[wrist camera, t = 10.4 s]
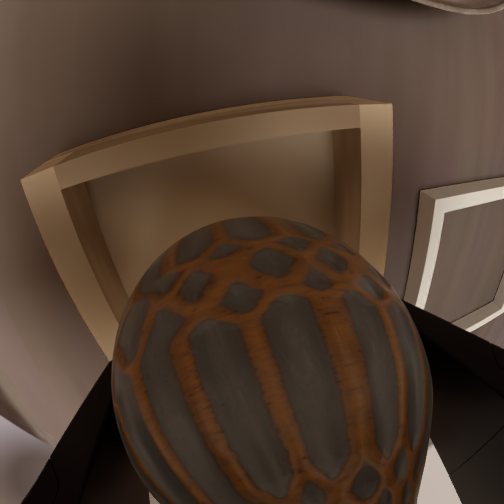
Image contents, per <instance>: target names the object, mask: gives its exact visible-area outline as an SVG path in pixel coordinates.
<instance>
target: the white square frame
mask: <svg viewBox="0 0 504 504" xmlns="http://www.w3.org/2000/svg"><path fill="white" fill-rule="evenodd" d="M503 198H504V177H500V178H493V179H487V180H480V181H474V182H468V183H462V184H456V185H450V186H444V187H438V188H432V189H426V190H421V191H420V198H419V208H418V217H417V225H416V232H415V239H414V246H413V252H412V258H411V264H410V270H409V275H408V280H407V286H406V290H405V295H404V301H406V302H408V303H411V304H413V305H415V306H417V307H419V308H421V309H423V310H424V306H425V303H426V299H427V295H428V292H429V288H430V284H431V280H432V275H433V271H434V267H435V262H436V257H437V253H438V248H439V242H440V237H441V232H442V226H443V220H444V213H445V212H449V211H453V210H458V209H462V208H466V207H470V206H474V205H478V204H483V203H487V202H491V201H495V200H499V199H503ZM503 312H504V274H503V276H502V279H501V282H500V285H499V287H498V290H497V293H496V295H495V298H494V300H493V301H492V302H490V303H489V304H487V305H485V306H483V307H481V308H479V309H478V310H476V311H474V312H472V313H470V314H468V315H466V316H464V317H462V318H460V319H458V320H456V321H454V322H452V324H454V325H456V326H458V327H460V328H462V329H464V330H466V331H468V332H471V331H473V330H475V329H477V328H478V327H480V326H482V325H484V324H485V323H487V322H489V321H490V320H492V319H494V318H495V317H497V316H498V315H500V314H502V313H503Z"/></svg>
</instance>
